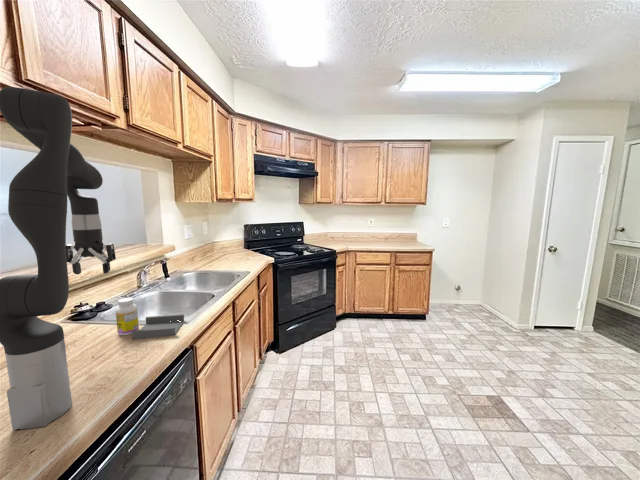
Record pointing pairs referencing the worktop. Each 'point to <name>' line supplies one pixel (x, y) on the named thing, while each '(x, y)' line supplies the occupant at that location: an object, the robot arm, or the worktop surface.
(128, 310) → the supplement bottle
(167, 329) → the cradle tray
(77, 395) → the worktop surface
